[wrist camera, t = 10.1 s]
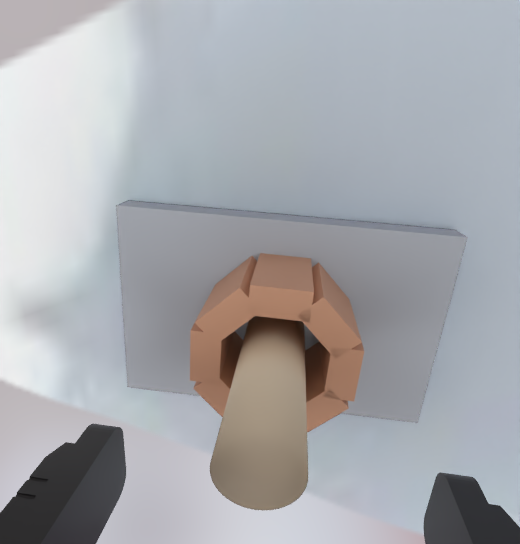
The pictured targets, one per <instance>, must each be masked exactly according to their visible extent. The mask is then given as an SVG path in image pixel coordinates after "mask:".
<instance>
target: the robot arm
mask: <svg viewBox="0 0 520 544" xmlns="http://www.w3.org/2000/svg"><path fill="white" fill-rule="evenodd" d="M125 464H126V463H125V451H124V439H123V431H122V429H121V428H120V427H113V426H105V425H98V424H91V425H89V426H88V427H87V429H86V430H85V431H84V432H83V434H82V435H81V437H80V438H79V439H78V440H77V442H76V443H75V444H73V443H64V444H63V445H62V446H60V447H59V448H58V449H56V450H55V451H53V452H52V453H51V454H49V455H48V456H46V457H45V458H44V460H43V461H42V462H41V463H40V465H39V466H38V467H37V468H36V470H35V471H34V472H33V473H32V474H31V476H30V479H29V480H27V481H26V482H25V483H24V484H23V486H22V487H21V488H20V490H19V491H18V492H17V495H16V497H13V498H12V499H11V501H10V502H9V503H8V504H7V506H6V507H5V508H4V509H3V511H2V512H1V513H0V544H96V542H97V540H98V538H99V536H100V534H101V532H102V530H103V529H104V527H105V525H106V523H107V521H108V519H109V517H110V515H111V513H112V511H113V509H114V507H115V505H116V503H117V501H118V499H119V497H120V495H121V492H122V490H123V486H124V483H125V478H126V465H125ZM424 537H425V543H426V544H520V527H519V526H518V525H517V524H516V523H515V522H514V521H513V519H512V518H511V517H510V516H509V515H508V514H507V513H506V512H505V511H504V510H503V509H502V507H501V506H498V505H491V504H488V502H487V500H486V498H485V496H484V494H483V492H482V490H481V488H480V486H479V484H478V482H477V481H476V480H475V479H474V478H473V477H468V476H461V475H454V474H446V473H439V474H438V475H437V476H436V479H435V483H434V486H433V489H432V493H431V496H430V500H429V503H428V506H427V510H426V513H425V517H424Z"/></svg>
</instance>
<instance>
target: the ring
mask: <svg viewBox="0 0 520 544" xmlns="http://www.w3.org/2000/svg"><path fill="white" fill-rule="evenodd" d="M254 316H260V317H269V318H278V319H286V320H295V321H302V322H303V323H304V324H305V325H306V326H307V328H308V329H309V330H310V331H311V332H312V333H313V334H314V336H315V337H316V338H317V339H318V340H319V342H318V343H316V344H315V345H313V346H312V347H310V348H309V349H307V350H306V351H305V371H306V413H307V432H309V431H311V430H313V429H314V428H316V427H318V426H320V425H321V424H323V423H325V422H326V421H328V420H330V419H332V418H333V417H335V416H337V415H338V414H340V413H342V412H344V411H345V410H347V409H349V406H348V401H354V400H355V395H356V390H357V385H358V380H359V375H360V370H361V366H362V361H363V356H364V348H363V345H362V340H361V337H360V334H359V330H358V327H357V323H356V320H355V317H354V313H353V310H352V306H351V303H350V300H349V298H348V297H347V296H346V295H345V293H344V292H343V291H342V290H341V289H340V287H339V286H338V285H337V284H336V283H335V281H334V280H333V279H332V278H331V277H330V275H329V274H328V273H327V272H326V271H325V269H324V268H323V267H322V266H321V265H320V263H319V262H318V263H317V264H316V265H314V266H313V267H312V263H311V258H303V257H293V256H284V255H274V254H265V253H260V255H259V258H258V261H257V260H256V259H255V258H254V257H253V256H251V257H249V258H248V259H247V260H246V261H244V262H243V263H242V264H240V265H239V266H238V267H237V268H235V269H234V270H233V271H232V272H230V273H229V274H228V275H227V276H225V277H224V278H223V279H222V280H220V281H219V282H218V283H217V284H215V286H214V288H213V290H212V292H211V293H210V295H209V297H208V299H207V301H206V302H205V304H204V306H203V308H202V310H201V312H200V313H199V315H198V317H197V319H196V321H195V322H194V325H193V327H192V329H191V330H190V381H196V383H195V385H194V388H193V389H194V390H195V391H196V392H197V393H198V394H199V395H200V396H201V397H202V398H203V399H204V400H205V401H206V402H207V403H209V404H210V405H211V406H212V407H213V408H214V409H215V410H216V411H217V412H218V413H219V414H220V415H221V416H222V417H223V415H224V411H225V407H226V403H227V400H228V396H229V392H230V388H231V385H232V381H233V377H234V374H235V370H236V366H237V362H238V359H239V355H240V351H241V348H242V344H243V339H242V338H241V337H240V336H239V335H238V334H237V333H236V332H235V330H237V329H238V328H239V327H241V326H242V325H244V324H245V323H246V322H248V321H249V320H250V319H252V318H253V317H254Z"/></svg>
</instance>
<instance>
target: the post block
mask: <svg viewBox="0 0 520 544" xmlns="http://www.w3.org/2000/svg"><path fill="white" fill-rule="evenodd" d="M116 211H117V227H118V243H119V259H120V275H121V290H122V306H123V322H124V338H125V354H126V370H127V385H128V387H131V388H139V389H147V390H155V391H163V392H172V393H180V394H188V395H196V396H200V395H199V394H198V393H197V392H196V391H195V390H194V389H193V388H194V385H195V383H196V381H190V330H191V329H192V327H193V325H194V322H195V321H196V319H197V317H198V315H199V313H200V312H201V310H202V308H203V306H204V304H205V302H206V301H207V299H208V297H209V295H210V293H211V292H212V290H213V288H214V286H215V284H217V283H218V282H219V281H220V280H222V279H223V278H224V277H225V276H227V275H228V274H229V273H230V272H232V271H233V270H234V269H235V268H237V267H238V266H239V265H240V264H242V263H243V262H244V261H246V260H247V259H248V258H249V257H251V256H253V257H254V258H255V259H256V260H257V261H258V258H259V255H260V253H265V254H274V255H284V256H293V257H303V258H311V263H312V267H313V266H314V265H316V264H317V263H318V262H319V263H320V265H321V266H322V267H323V268H324V269H325V271H326V272H327V273H328V274H329V275H330V277H331V278H332V279H333V280H334V281H335V283H336V284H337V285H338V286H339V287H340V289H341V290H342V291H343V292H344V293H345V295H346V296H347V297H348V298H349V300H350V303H351V306H352V310H353V313H354V317H355V320H356V323H357V327H358V330H359V334H360V337H361V340H362V345H363V348H364V356H363V361H362V366H361V370H360V375H359V380H358V385H357V390H356V395H355V400H354V401H348V406H349V409H347V410H345V411H344V412H342V414H350V415H358V416H366V417H374V418H382V419H390V420H398V421H406V422H415V423H417V422H418V419H419V415H420V411H421V408H422V404H423V400H424V397H425V393H426V389H427V386H428V382H429V378H430V374H431V371H432V367H433V363H434V360H435V356H436V352H437V349H438V345H439V341H440V338H441V334H442V330H443V326H444V323H445V319H446V315H447V312H448V308H449V304H450V301H451V297H452V293H453V290H454V286H455V282H456V279H457V275H458V271H459V267H460V264H461V260H462V256H463V253H464V249H465V245H466V242H467V238H468V237H466V236H465V235H463V234H461V233H460V232H458V231H457V230H451V229H440V228H429V227H418V226H407V225H396V224H385V223H374V222H362V221H351V220H340V219H329V218H318V217H307V216H296V215H285V214H273V213H262V212H251V211H240V210H229V209H218V208H207V207H196V206H184V205H173V204H162V203H151V202H140V201H129V200H128V201H126V202H123V203H121V204H118V205H116ZM235 332H236V333H237V334H238V335H239V336H240V337H241V338H242V339H243V344H242V348H241V351H240V355H239V359H238V362H237V366H236V370H235V374H234V377H233V381H232V385H231V388H230V392H229V396H228V400H227V403H226V407H225V411H224V415H223V418H222V422H221V426H220V429H219V433H218V437H217V441H216V444H215V448H214V452H213V455H212V459H211V463H210V474H211V478H212V481H213V483H214V485H215V486H216V488H217V489H218V491H219V492H220V493H221V494H222V495H223V496H225V497H226V498H227V499H229V500H230V501H232V502H234V503H236V504H237V505H240V506H243V507H246V508H250V509H254V510H274V509H279V508H282V507H285V506H287V505H289V504H291V503H293V502H294V501H295V500H297V499H298V498H299V497H300V496H301V495H302V493H303V492H304V490H305V488H306V486H307V482H308V455H307V413H306V371H305V351H306V350H307V349H309V348H310V347H312V346H313V345H315V344H316V343H318V342H319V340H318V339H317V338H316V337H315V336H314V334H313V333H312V332H311V331H310V330H309V329H308V328H307V326H306V325H305V324H304V323H303V322H302V321H295V320H286V319H278V318H269V317H260V316H254V317H253V318H252V319H250V320H249V321H248V322H246V323H245V324H244V325H242V326H241V327H239V328H238V329H237V330H235Z"/></svg>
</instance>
